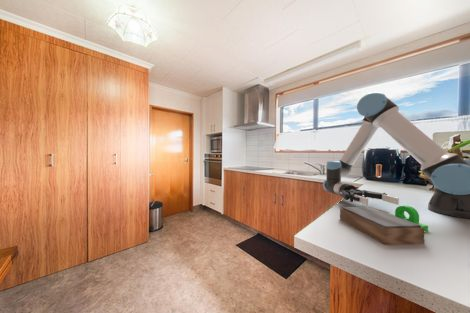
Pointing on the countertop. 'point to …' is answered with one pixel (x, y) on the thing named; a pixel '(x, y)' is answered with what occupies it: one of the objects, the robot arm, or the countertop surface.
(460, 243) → the countertop surface
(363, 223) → the stand
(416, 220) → the mechanical part
